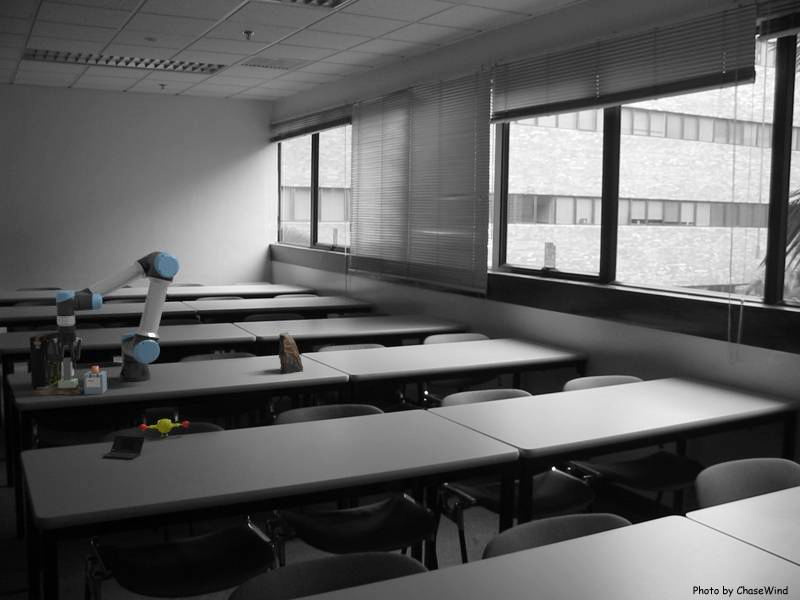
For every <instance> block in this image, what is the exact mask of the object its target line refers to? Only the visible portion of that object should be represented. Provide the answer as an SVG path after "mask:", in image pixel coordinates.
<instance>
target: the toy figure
mask: <svg viewBox="0 0 800 600" xmlns="http://www.w3.org/2000/svg"><path fill="white" fill-rule="evenodd" d="M179 426H182V427H183V428H189V427H190V422H189V421H188V420H185V421H182V423H172V421H171V419H168V418H162V419H159V420H158V421H157V424H155V425H150V426H147V425H146V424H144V423H142V424H141V423H140V425H139V426H138V430H139V431H141V432H143V431H145V430H147V428H148V429H157V430H158V432H159V433H161V436H160V437H161V438H164V434H165V437H166V438H168V437H169V434H168V433H169V432H170V431H171V430H172V428H174V427H179Z"/></svg>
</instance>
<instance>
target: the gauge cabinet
mask: <svg viewBox="0 0 800 600" xmlns="http://www.w3.org/2000/svg"><path fill="white" fill-rule="evenodd" d="M107 373H108V372H107V370H101V372H100V370H99V374H98V378H97V374H92V370H91V371H90V370H89V371H87V372H86V373H85V374H83V383H84V386H83V387H84V395H104V394H105V393H106V392H107V391H108V380H107V379H108V378H107V377H108V376H107ZM106 390H107V391H106ZM105 391H106V392H105ZM104 392H105V393H104ZM103 393H104V394H103Z"/></svg>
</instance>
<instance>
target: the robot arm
mask: <svg viewBox="0 0 800 600" xmlns="http://www.w3.org/2000/svg"><path fill="white" fill-rule="evenodd" d="M179 270H180V262H179V259H178V258H177V257H176V256H175V255H174V254H172V253H169V252H165V251H164V252H163V251H162V252H161V251H153V252H151V253H149V254H146V255H145V256H143V257H141V258H139V259H138V260H135V261H134V263H133V264H132V265H129V266H127V267H125V268H123V269H122V270H120V271H117V272H116V273H114V274H112V275H109V276H107V277H105V278H104V279H102V280H99V281H97V282H96V283H94V284H91V285H90V286H89V285H88V287H85V288H84V289H81V290H77V291H73V290H59V291H57V292H56V295H55V298H56V299H55V305H56V324H57V327H56V328H57V333H58V335H57V338H55V339H52V340H51V342H52V344H53V350H54V358H55V361H59V368H60V369H61V377H64V372H63V359H64V358H65V357H64V356H65V349H66V348H65V347H66V346H68V348H69V353H70V358H71V359H72V361H71V362H70V371H71V376H72V377H73V376H74V375H75V369H76V368H77V362H76V361H80V360H81V359H80V358H81V348H82V342H83V338H81V337H80V338H79V337H77V335H76V334H77V333H76V325H75V324H76V312H82V311H87V312H88V311H97V310H98V311H99V310H101V309H102V307H103V298H105V297H106V296H108V295H111V294H112V293H114V292H116V291H119V290H120V289H122V288H124V287H126V286H129V285H130V284H132V283H134V282H136V281H138V280H141V279H144V280H145V279H147V278H148V280H149V285H148V289H147V294H146V298H145V303H144V307H143V311H142V315H141V319H140V323H139V328H138V329H137V330H136V331H135V332H129V333H124V334H122V335H121V360H122V361H121V367H120V371H119V373H118V380H119V381H121V382H129V383H131V382H133V383H134V382H141V381H143V382H144V381H147V380H150V379H152V372H151V370H150V368H149V365H148V364H151V363H152V362H154V361H155V360H157V359H158V357H159V355H160V351H161V350H160V345H159V342H160V336H159V334H158V331H159V326H160V322H161V318H162V314H163V309H164V305H165V301H166V296H167V292H168V287H169V285H171V284H172V283H173V280H174V277H175V276H176V275H177V274H178V272H179ZM57 340H58V341H59V342H60V356H59V354H58V347H57ZM75 341H76V350H75V347H74V343H75ZM75 351H76V353H75Z"/></svg>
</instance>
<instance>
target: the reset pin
mask: <svg viewBox="0 0 800 600" xmlns="http://www.w3.org/2000/svg"><path fill="white" fill-rule="evenodd" d="M91 371H92V374H97V378H98V374H99V371H100V367H99V365H94V366H91Z"/></svg>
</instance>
